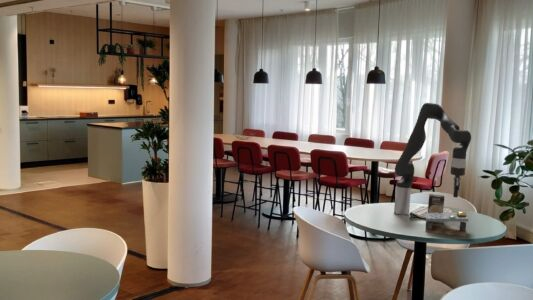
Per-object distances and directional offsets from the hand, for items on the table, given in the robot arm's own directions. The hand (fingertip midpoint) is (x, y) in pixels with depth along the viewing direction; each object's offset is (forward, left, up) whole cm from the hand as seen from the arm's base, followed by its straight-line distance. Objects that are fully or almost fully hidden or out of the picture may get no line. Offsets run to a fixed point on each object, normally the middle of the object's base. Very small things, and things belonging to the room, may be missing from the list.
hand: (455, 197), depth 302 cm
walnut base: (-3, +5, -21) cm, 21 cm away
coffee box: (-9, +24, -21) cm, 33 cm away
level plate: (-3, +5, -14) cm, 15 cm away
